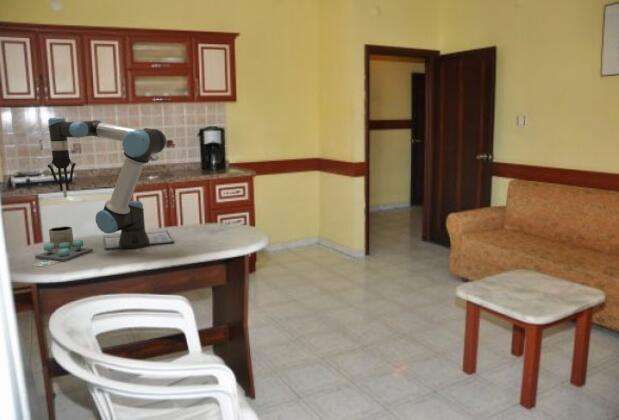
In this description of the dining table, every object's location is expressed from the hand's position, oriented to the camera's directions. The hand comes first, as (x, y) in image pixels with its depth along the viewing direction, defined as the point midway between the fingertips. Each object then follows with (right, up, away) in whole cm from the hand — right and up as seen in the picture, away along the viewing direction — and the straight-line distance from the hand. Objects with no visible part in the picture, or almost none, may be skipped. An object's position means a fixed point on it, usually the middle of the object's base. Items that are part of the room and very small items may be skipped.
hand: (65, 197), depth 259 cm
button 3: (+1, -27, -2) cm, 27 cm away
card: (+1, -31, -21) cm, 38 cm away
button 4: (-3, -27, -10) cm, 29 cm away
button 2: (+6, -29, -13) cm, 32 cm away
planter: (-5, -26, +8) cm, 28 cm away
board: (+3, -28, -7) cm, 29 cm away
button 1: (+9, -25, -5) cm, 27 cm away
